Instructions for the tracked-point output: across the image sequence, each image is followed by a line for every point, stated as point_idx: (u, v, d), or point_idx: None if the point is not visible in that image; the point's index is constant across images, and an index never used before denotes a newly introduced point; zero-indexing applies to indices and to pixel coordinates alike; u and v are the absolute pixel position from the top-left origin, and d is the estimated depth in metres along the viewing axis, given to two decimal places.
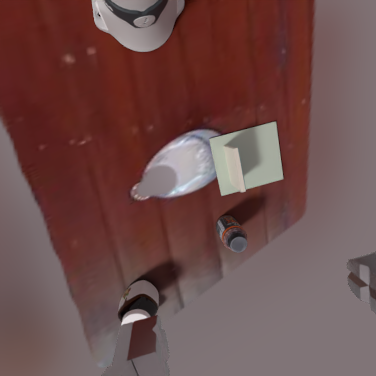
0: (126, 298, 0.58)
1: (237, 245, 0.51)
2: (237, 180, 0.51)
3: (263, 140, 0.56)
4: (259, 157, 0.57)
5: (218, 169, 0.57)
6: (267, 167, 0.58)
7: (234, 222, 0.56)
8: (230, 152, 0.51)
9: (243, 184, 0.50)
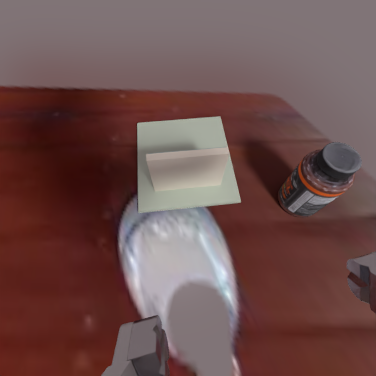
0: None
1: (344, 158, 0.24)
2: (207, 161, 0.28)
3: (160, 138, 0.38)
4: (183, 143, 0.38)
5: (192, 202, 0.33)
6: (200, 133, 0.39)
7: (291, 176, 0.29)
8: (158, 172, 0.29)
9: (214, 149, 0.27)
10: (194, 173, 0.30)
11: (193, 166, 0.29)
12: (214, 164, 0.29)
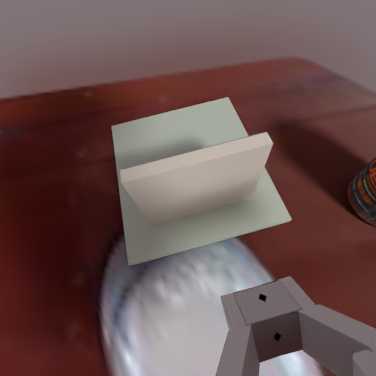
0: None
1: None
2: (233, 165, 0.16)
3: (147, 141, 0.26)
4: (182, 143, 0.25)
5: (214, 234, 0.20)
6: (205, 125, 0.26)
7: None
8: (148, 197, 0.16)
9: (243, 141, 0.15)
10: (211, 188, 0.18)
11: (208, 177, 0.16)
12: (244, 167, 0.16)
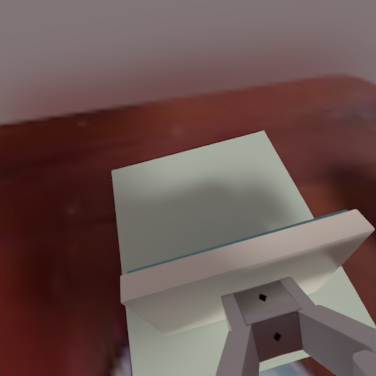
0: None
1: None
2: (304, 261, 0.10)
3: (158, 195, 0.19)
4: (207, 199, 0.19)
5: None
6: (236, 172, 0.20)
7: None
8: (165, 311, 0.10)
9: (321, 224, 0.09)
10: None
11: (262, 279, 0.10)
12: (319, 262, 0.10)
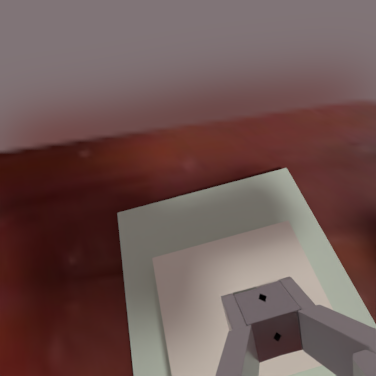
0: None
1: None
2: (262, 248, 0.15)
3: (170, 245, 0.17)
4: None
5: None
6: (258, 218, 0.18)
7: None
8: (175, 295, 0.14)
9: None
10: None
11: (241, 267, 0.15)
12: (280, 255, 0.15)
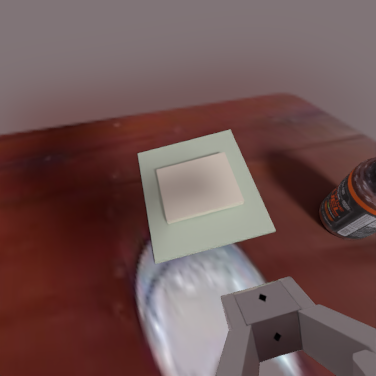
0: None
1: None
2: (210, 164, 0.31)
3: None
4: None
5: (217, 241, 0.27)
6: (211, 154, 0.34)
7: (337, 194, 0.23)
8: (167, 183, 0.30)
9: None
10: (203, 182, 0.30)
11: (199, 171, 0.31)
12: (218, 166, 0.31)
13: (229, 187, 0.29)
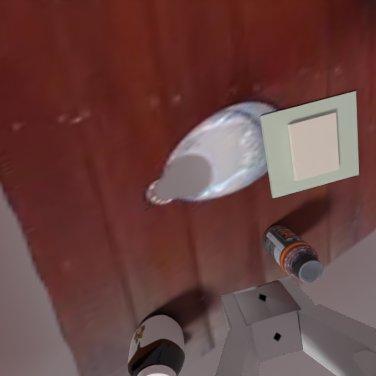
0: (139, 343, 0.41)
1: (309, 273, 0.34)
2: (331, 157, 0.40)
3: (336, 119, 0.39)
4: None
5: (271, 160, 0.40)
6: (339, 158, 0.41)
7: (295, 236, 0.39)
8: (321, 123, 0.38)
9: None
10: (317, 152, 0.39)
11: (326, 148, 0.39)
12: (327, 163, 0.40)
13: (309, 171, 0.40)
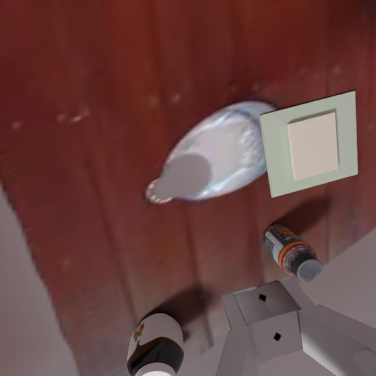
0: (139, 341, 0.41)
1: (308, 272, 0.34)
2: (330, 157, 0.40)
3: (335, 119, 0.39)
4: None
5: (270, 160, 0.40)
6: (338, 158, 0.41)
7: (294, 235, 0.39)
8: (320, 122, 0.38)
9: None
10: (316, 152, 0.39)
11: (325, 148, 0.39)
12: (326, 163, 0.40)
13: (308, 170, 0.40)
